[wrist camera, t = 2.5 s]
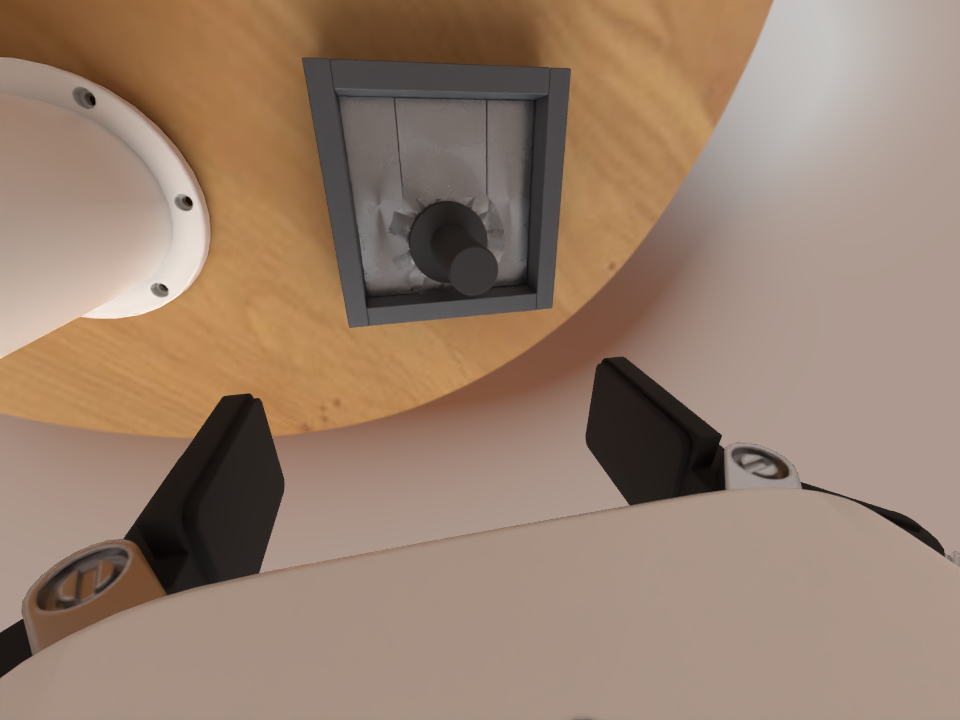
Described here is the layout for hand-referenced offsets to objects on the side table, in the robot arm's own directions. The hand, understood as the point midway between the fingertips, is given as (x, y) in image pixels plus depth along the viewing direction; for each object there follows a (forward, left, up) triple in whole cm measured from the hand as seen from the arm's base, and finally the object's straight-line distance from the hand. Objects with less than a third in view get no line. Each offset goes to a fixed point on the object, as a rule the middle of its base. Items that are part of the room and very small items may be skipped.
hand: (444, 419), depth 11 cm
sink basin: (+3, +4, -19) cm, 19 cm away
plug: (+3, +2, -19) cm, 19 cm away
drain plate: (+3, +4, -19) cm, 19 cm away
